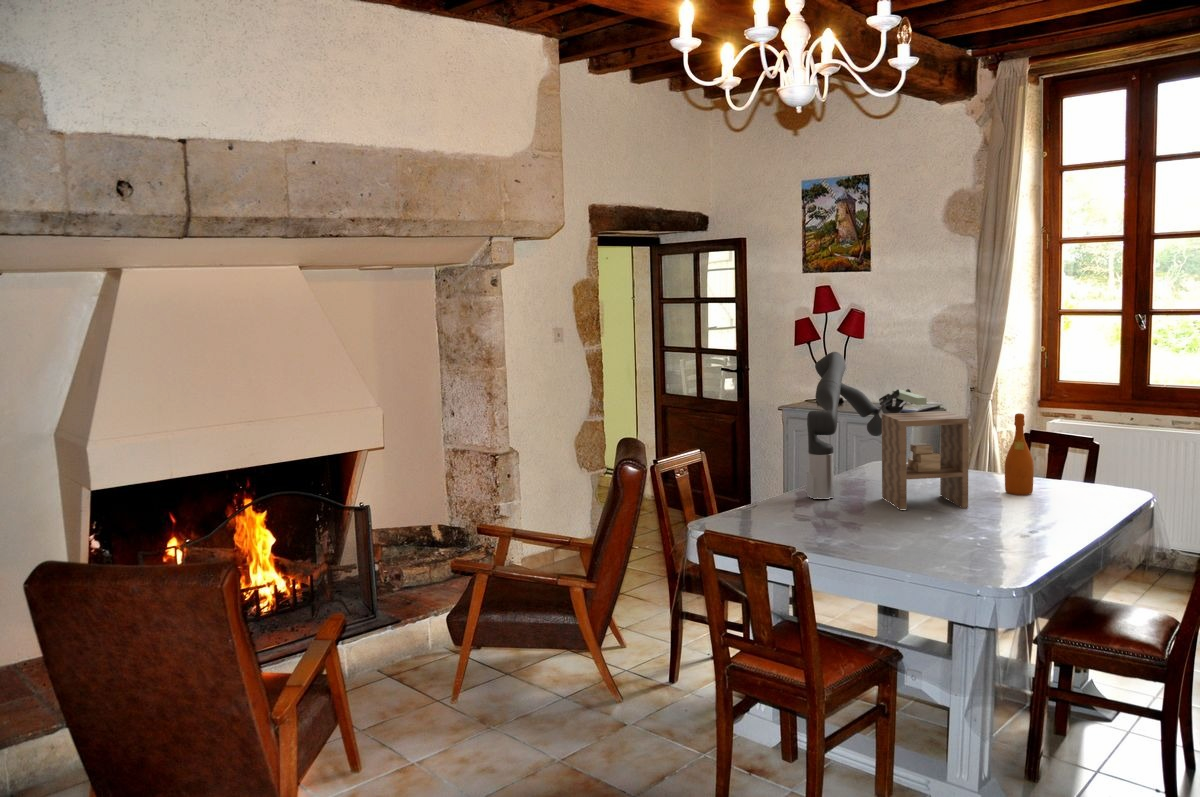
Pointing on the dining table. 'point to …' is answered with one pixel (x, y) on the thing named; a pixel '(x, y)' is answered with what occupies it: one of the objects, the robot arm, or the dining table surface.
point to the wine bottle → (1019, 463)
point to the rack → (925, 456)
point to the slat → (911, 397)
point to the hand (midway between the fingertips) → (903, 391)
